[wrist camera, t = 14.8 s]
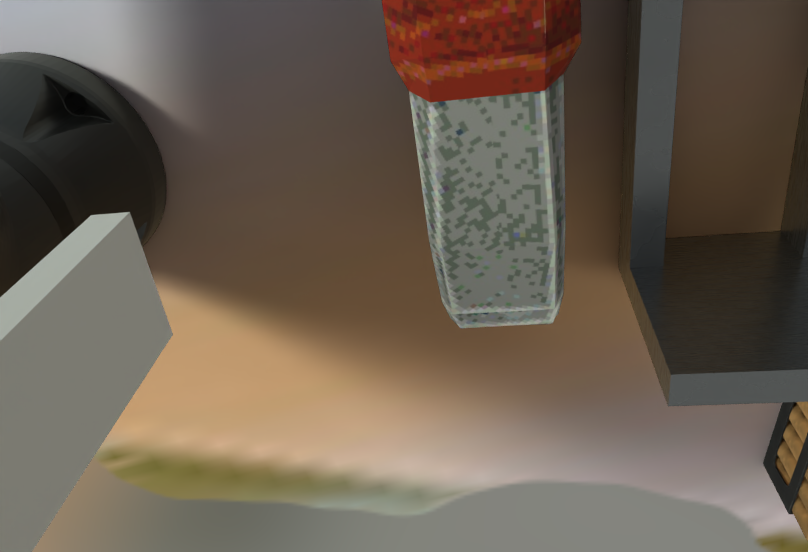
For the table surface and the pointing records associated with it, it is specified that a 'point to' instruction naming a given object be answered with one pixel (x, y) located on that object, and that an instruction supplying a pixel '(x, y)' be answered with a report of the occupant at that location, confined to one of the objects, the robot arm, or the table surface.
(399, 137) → the table surface
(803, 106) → the rack
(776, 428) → the ammunition clip
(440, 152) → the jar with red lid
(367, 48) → the table surface
